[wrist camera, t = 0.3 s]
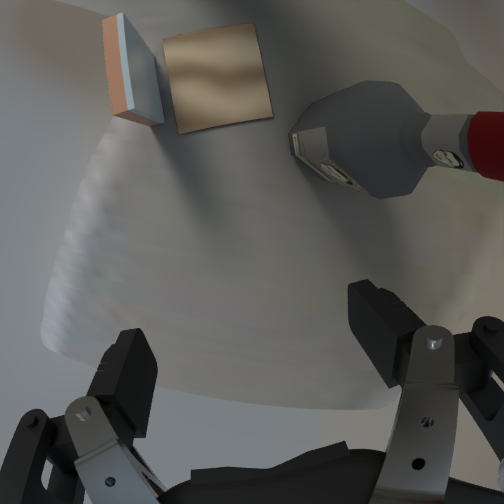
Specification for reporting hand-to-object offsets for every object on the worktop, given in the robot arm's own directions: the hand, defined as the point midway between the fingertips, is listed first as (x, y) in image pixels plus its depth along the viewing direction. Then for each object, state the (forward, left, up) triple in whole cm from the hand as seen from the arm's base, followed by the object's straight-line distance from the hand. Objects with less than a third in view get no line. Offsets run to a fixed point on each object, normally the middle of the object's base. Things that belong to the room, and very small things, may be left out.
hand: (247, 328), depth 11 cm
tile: (-17, -7, -29) cm, 34 cm away
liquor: (-6, +14, -29) cm, 33 cm away
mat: (-17, +2, -29) cm, 33 cm away
